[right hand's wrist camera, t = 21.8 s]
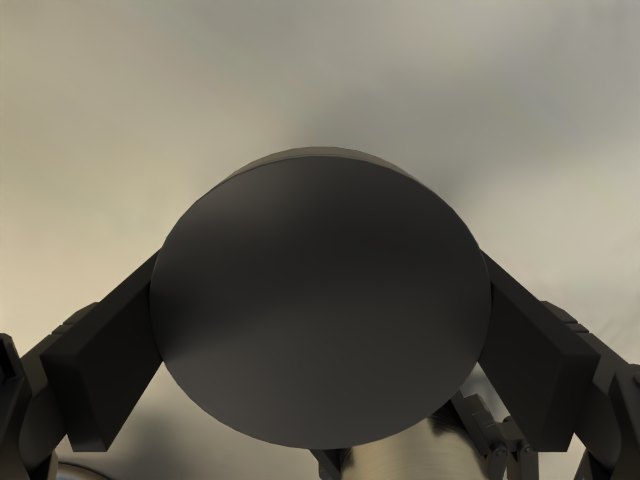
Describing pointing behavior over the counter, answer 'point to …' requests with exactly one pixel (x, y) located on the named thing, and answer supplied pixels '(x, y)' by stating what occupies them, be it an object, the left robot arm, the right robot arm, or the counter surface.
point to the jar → (418, 453)
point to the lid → (320, 300)
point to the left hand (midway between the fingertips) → (376, 402)
